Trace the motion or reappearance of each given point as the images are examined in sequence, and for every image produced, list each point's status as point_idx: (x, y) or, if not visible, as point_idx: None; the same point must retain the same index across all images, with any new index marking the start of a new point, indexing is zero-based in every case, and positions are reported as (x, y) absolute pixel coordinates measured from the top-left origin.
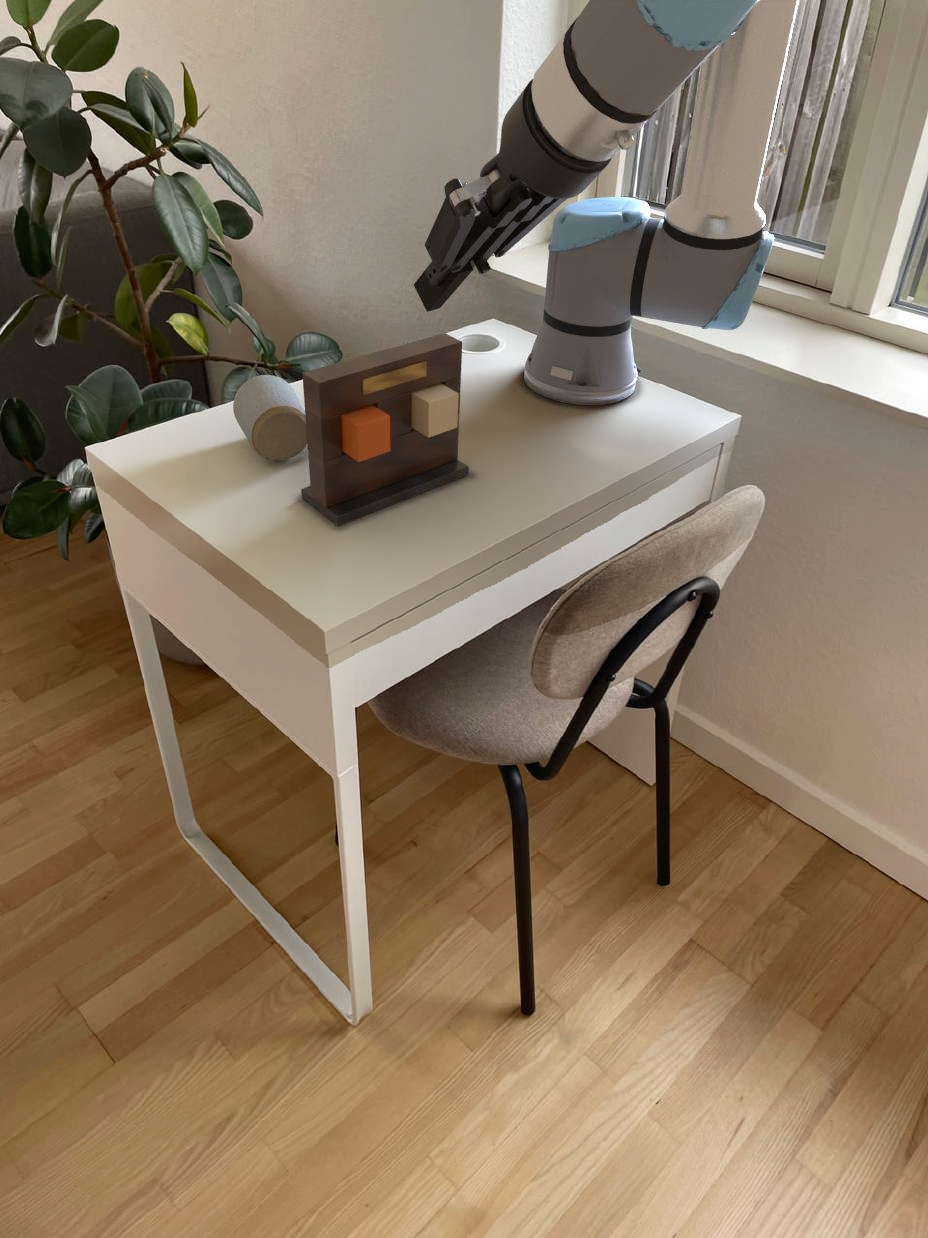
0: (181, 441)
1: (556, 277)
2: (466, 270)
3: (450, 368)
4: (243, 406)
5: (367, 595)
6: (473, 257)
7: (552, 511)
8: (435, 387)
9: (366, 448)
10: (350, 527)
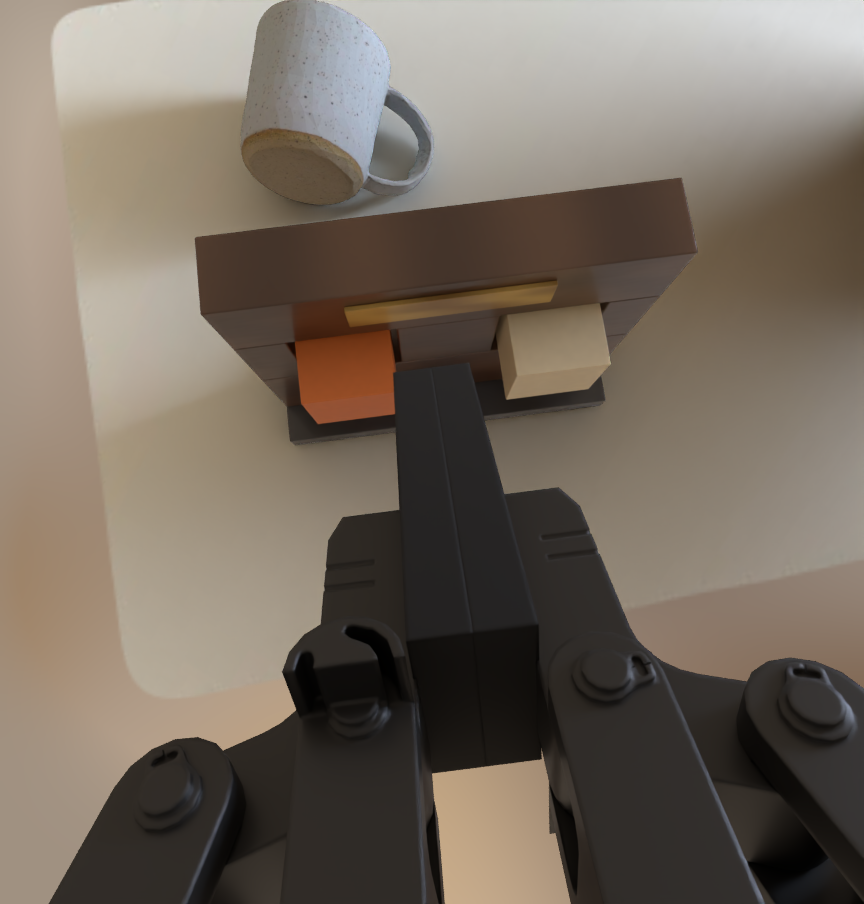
0: (187, 55)
1: None
2: (484, 764)
3: (634, 287)
4: (250, 74)
5: (233, 661)
6: (550, 779)
7: (677, 596)
8: (574, 311)
9: (334, 415)
10: (312, 458)
